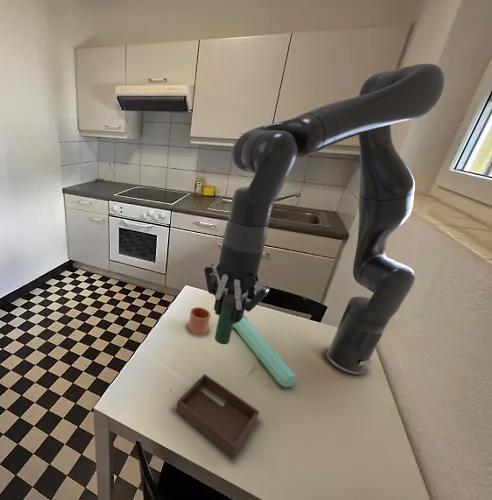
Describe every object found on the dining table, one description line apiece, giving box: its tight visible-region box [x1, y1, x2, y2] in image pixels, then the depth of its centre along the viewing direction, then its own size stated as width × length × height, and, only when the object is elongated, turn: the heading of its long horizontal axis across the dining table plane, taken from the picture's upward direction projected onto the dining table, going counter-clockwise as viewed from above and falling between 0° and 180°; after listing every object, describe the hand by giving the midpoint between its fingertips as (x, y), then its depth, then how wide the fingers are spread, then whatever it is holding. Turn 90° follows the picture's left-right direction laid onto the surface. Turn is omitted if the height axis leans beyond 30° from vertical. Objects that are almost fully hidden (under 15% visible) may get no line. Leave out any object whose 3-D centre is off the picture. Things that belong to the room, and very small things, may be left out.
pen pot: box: [187, 306, 211, 335], centre depth 90 cm, size 6×6×6 cm
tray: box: [175, 373, 260, 460], centre depth 63 cm, size 11×14×4 cm
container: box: [232, 314, 298, 388], centre depth 82 cm, size 6×6×25 cm
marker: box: [214, 293, 236, 345], centre depth 60 cm, size 3×3×11 cm
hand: (226, 316), depth 60 cm, fingers closed on marker, 3 cm apart
